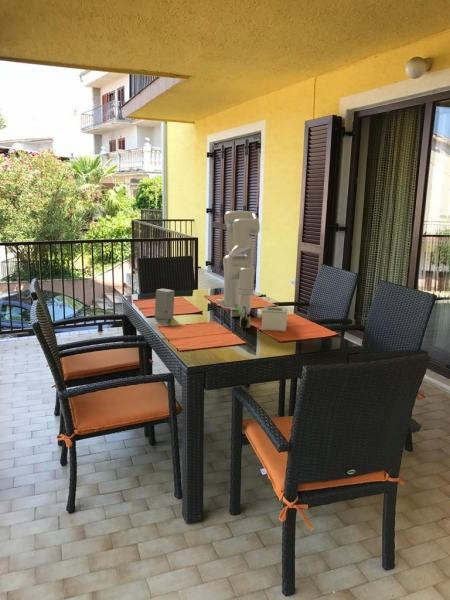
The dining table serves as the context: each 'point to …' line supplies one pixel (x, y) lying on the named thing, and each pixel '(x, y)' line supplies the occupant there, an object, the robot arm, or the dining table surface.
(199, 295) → the dining table surface
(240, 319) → the tan wooden block
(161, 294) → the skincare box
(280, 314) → the box
